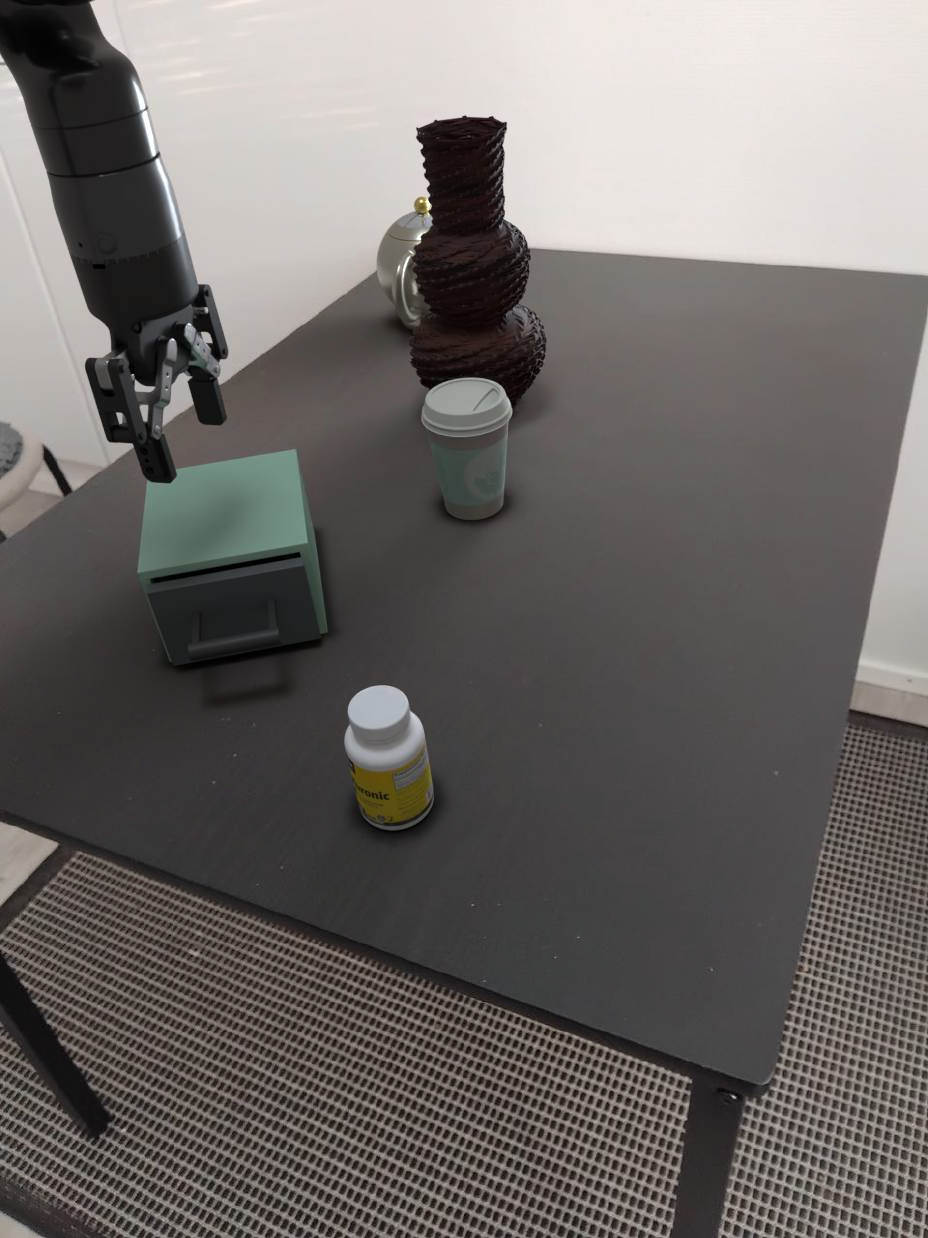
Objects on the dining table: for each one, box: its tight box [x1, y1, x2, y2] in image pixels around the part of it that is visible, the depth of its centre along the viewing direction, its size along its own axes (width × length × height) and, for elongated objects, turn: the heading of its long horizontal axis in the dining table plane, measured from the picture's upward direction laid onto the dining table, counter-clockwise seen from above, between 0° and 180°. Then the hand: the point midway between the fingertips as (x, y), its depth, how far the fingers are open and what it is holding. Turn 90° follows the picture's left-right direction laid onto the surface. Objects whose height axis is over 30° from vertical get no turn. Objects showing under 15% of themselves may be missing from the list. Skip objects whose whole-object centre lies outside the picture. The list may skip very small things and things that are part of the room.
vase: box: [408, 114, 547, 413], centre depth 104 cm, size 15×15×30 cm
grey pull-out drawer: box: [147, 552, 322, 667], centre depth 83 cm, size 20×12×8 cm, turn 11°
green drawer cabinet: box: [136, 448, 329, 663], centre depth 87 cm, size 16×14×10 cm
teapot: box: [376, 196, 433, 331], centre depth 128 cm, size 18×14×16 cm
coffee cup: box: [420, 378, 513, 521], centre depth 94 cm, size 8×8×12 cm
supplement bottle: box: [343, 684, 435, 831], centre depth 66 cm, size 5×5×10 cm
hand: (189, 450), depth 74 cm, fingers open, 8 cm apart
